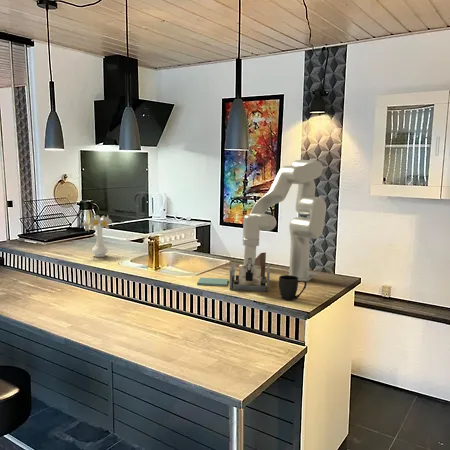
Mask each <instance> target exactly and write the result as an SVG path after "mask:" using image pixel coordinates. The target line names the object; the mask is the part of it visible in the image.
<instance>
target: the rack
mask: <svg viewBox="0 0 450 450" xmlns="http://www.w3.org/2000/svg"><path fill="white" fill-rule="evenodd" d="M270 265H271V264H270V263H267V271H266V272H267V273H266V275H265V276H261V277H263V280H262V282H261V283H260V286H256V285H239V281H237V278H239V274H236V262H235V261H233V262H232V265H231V267H230V270H229V291H239V292H240V291H241V292H258V293H259V292H262V293H263V292H264V293H269V292H270V272H271V267H270Z"/></svg>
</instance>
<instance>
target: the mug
mask: <svg viewBox="0 0 450 450" xmlns="http://www.w3.org/2000/svg"><path fill="white" fill-rule="evenodd" d="M278 280H279V281H278V287H279V294H280V298H281V300H283V301H289V302H290V301H294V300H296V299H298V298H299V297H300V296H301V295H302V293H304V291H305V289H306V287H307V285H308V284H307V282H308V281H302V280H299V281H298V277H296V276H292V275H288V274H286V275H285V274H284V275H279V277H278ZM299 283H304V284H303V285H304V286H303V288H302V290H301V291H300V293H299V294H297V292H298V287H299Z"/></svg>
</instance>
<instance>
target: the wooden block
mask: <svg viewBox="0 0 450 450" xmlns="http://www.w3.org/2000/svg"><path fill="white" fill-rule="evenodd" d="M266 258H267V252H260V253H259V254H258V255H257V256H256V259H255V265H256V266H261V276H265V277H266Z"/></svg>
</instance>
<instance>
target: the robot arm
mask: <svg viewBox="0 0 450 450" xmlns="http://www.w3.org/2000/svg"><path fill="white" fill-rule="evenodd" d="M323 170H324V168H323V164H322V162H320V161H319V160H313V159H297V160H294V161H293V162H292V163H291V165H284V166H281V167H280V168H279V170H278V172H277V174H276V175H275V177H274V180H273V182H272V184H271V186H270V188H269V190H268V191H267V192H266V193H265V194H264V195H262V196H261V198H259V199H258V200H257V201H256V202H255V203H254V205H253V207H252V208H251V211H250V212H249V214H245V215H244V217H243V224H242V226H243V228H242V229H243V230H242V246H244V251H243V252H244V253H243V265H244V267H245V266H247V268H246V281H253V272H252V270H253V267H254V265H255V259H256V258H257V247H259V246H260V231H266V232H267V231H268V232H269V231H273V230H274V229H275V228H276V226H277V220H276V217H275V216H273V215H271V214H266V213H265V212H266V211H267V210H269V208H270V207H272V206H274V205H276V204H279V203H281V202H283V201H285V199H286V198H287V195H288V193H289V192H290V188H291V187H292V186H293V185H297V186H298V187H297V195H296V201H295V211H296V213H298V214H299V215H303V216H310V217H303V216H297V217H293V218H292V219H291V220H290V222H289V225H288V227H289V233H290V235H289V236H290V249H289V250H290V251H289V253H290V254H289V255H290V256H289V272H288V274H287V275H292V276H296V277H298V281H299V280H302V281H306V282H310V281H312V277H318V275H319V274H318V272H315V271H310V270H309V264H310V261H309V260H310V247H311V246H310V240H309V239H315V240H316V239H318V238H320V237H321V236H322V233H323V231H324V227H325V221H326V220H325V219H326V213H327V204H326V201H325V199H324V198H323V197H319V196H315V195H316V194H315V193H316V182H315V179H318V178H319V177H320V176H321V175H322V174H323Z"/></svg>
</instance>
